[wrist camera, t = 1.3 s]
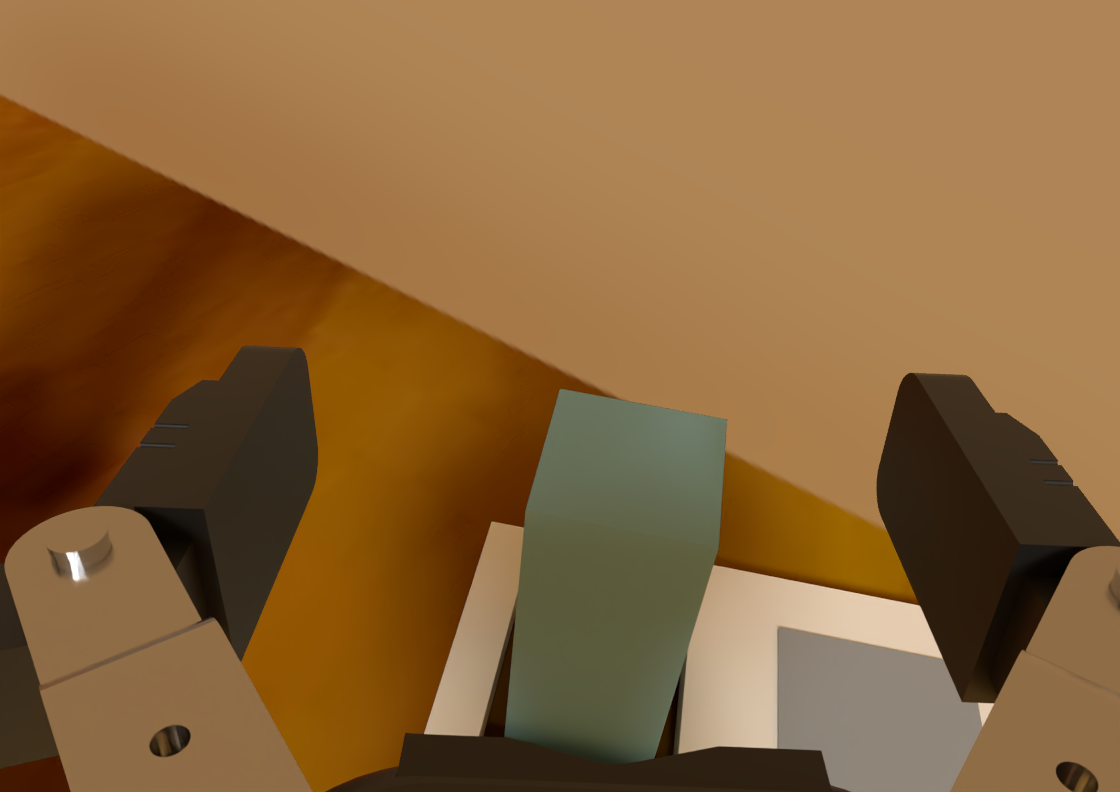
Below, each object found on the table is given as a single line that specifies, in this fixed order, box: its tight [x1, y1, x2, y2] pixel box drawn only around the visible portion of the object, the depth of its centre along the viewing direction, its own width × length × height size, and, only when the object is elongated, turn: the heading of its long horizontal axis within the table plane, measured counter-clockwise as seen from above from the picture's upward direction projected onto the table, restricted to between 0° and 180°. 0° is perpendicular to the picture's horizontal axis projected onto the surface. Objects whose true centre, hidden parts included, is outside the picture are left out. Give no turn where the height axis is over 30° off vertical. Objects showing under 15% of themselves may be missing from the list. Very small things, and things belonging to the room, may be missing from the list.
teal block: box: [504, 389, 727, 765], centre depth 30 cm, size 5×5×12 cm
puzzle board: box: [424, 521, 994, 792], centre depth 32 cm, size 20×14×2 cm
